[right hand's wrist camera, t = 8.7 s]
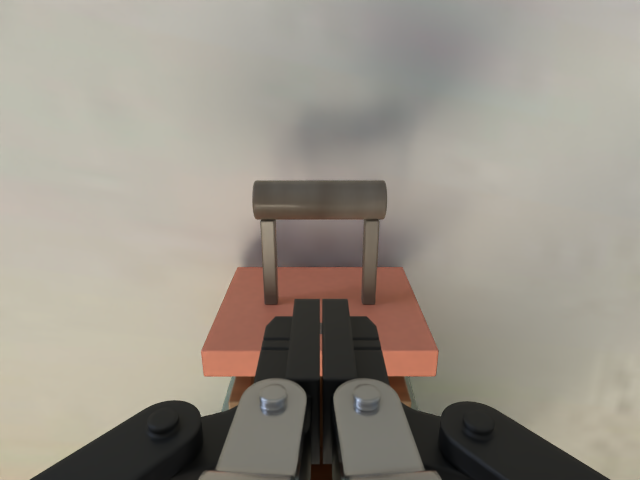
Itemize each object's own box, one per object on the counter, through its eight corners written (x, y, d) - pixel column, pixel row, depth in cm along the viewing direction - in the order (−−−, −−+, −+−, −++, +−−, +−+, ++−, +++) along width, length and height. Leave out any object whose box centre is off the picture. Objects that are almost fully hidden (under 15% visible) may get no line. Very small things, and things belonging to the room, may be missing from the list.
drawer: (229, 163, 22) (184, 206, 15) (409, 163, 22) (455, 206, 15) (249, 441, 28) (225, 569, 21) (390, 441, 28) (414, 570, 21)
